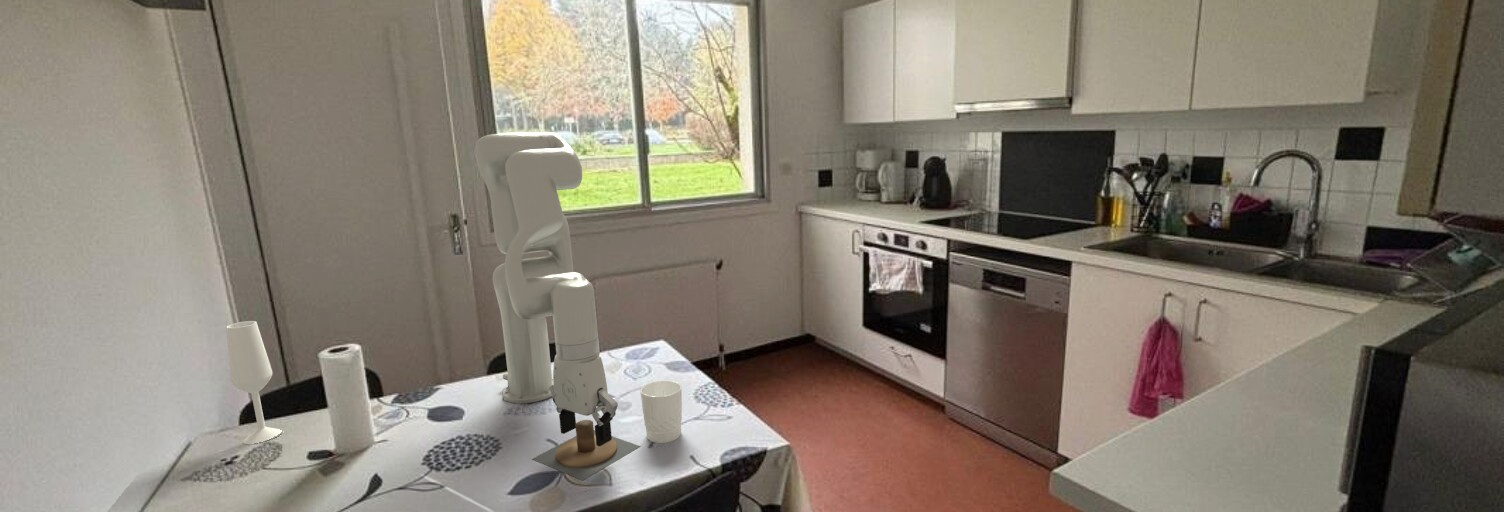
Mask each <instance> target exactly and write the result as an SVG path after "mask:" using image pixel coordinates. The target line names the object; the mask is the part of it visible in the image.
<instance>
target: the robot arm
mask: <svg viewBox="0 0 1504 512" xmlns="http://www.w3.org/2000/svg"><path fill="white" fill-rule="evenodd" d="M474 153H475V160H476V165H477V168H478V171H479V173H480V176H481V177H482V179H483V182H484V184H485V185H486V187H487V191H488V193H489V198H490V205H491V216H492V223H493V231H494V238H495V244H496V246H497V249H498V250H499V251H500V253H502V254H504V255H505V259H504V263H501V264H499V265H498V266H497V267H495V269H494V271H493V274H492V284H493V289H494V291H495V296H496V299H497V303H498V307H499V311H500V319H501V326H502V333H503V341H504V349H505V351H504V353H505V360H506V368H507V373H504V374H503V375H502V379H503V380H506V381H507V386H506V387H505V388H504V390H503V391H502V397H503V400H505V401H506V402H509V403H513V404H530V403H535V402H536V403H537V402H539V401H543V400H546V399H548V398H552V401H553V403H554V405H555V406H556V412H557V413H558V416H559V417H558V418H559V428H560V433H561V434H563V435H564V434H567V433H569V432H571V431H573V430H574V429H575V430H576V427H575V424H576V423H577V421H576V414H579V415H582V416H586V417H587V416H589V417H590V416H592V418H593V420H594V421H595V423H596V424H595V425H594V430H595V436H596V445H597V446H602V445H603V444H605V443H607V442H609V441H611V439H612V436H613V435H612V426H611V421H613V419H614V417H615V416H616V412H617V409H618V407H619V405H618V402H617V401H616V400H615V399H614V398H613V397H612V396H611V395H610V394H608V393H609V391H608V385H607V384H608V383H607V377H606V373H605V368H604V363H603V359H602V356H601V355H600V354H601V353H600V345H599V344H600V342H599V340H600V339H599V333H598V321H597V311H596V309H597V307H596V298H595V288H594V285H593V284H592V282H590V281H589V280H588V279H587V278H586V277H585V276H584V275H583V274H582V273H580V272H576V271H574V261H573V252H572V241H571V240H572V239H571V233H570V227H569V223H568V219H567V218H566V216H565V214H564V213H563V209H562V205H561V202H560V198H559V195H558V191H566V190H574V189H575V190H576V189H577V188H578V187H579V186H580V185H581V184H582V180H583V168H582V165H581V161H580V159H579V157H578V154H577V153H576V151H575V150H574V148H572V146H570V144H569V143H567V141H566V140H565V139H564V138H562V136H561V135H559V134H557V133H555V132H548V131H547V132H542V131H541V132H535V131H534V132H500V133H492V134H487V135H484V136H482V137H480V138H479V139H478V140H477V141H476V143H475V147H474ZM538 252H539V253H540V252H548V254H549V255H547V256H540V257H539V256H538V257H531V258H530V257H529V258H524V259H523V256H524V254H532V253H538ZM551 316H552V321H553V322H552V325H553V332H554V334H553V335H554V342H555V344H554V345H555V352H556V354H555V355H554V359H553V373H552V364H551V363H552V362H551V356H550V355H551V354H550V345H549V344H550V343H549V335H548V334H549V333H548V325H547V317H551ZM552 375H553V376H552ZM600 411H601V412H602V414H603V415H602V416H601V415H600V414H599V412H600Z"/></svg>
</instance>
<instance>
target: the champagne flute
mask: <svg viewBox="0 0 1504 512" xmlns="http://www.w3.org/2000/svg"><path fill="white" fill-rule="evenodd" d="M259 328H260V327H259V326H258V322H257V320H256V321H255V320H247V321H239V322H236V323H232V324H229V325H227V326H226V340H227V351H228V352H227V354H228V364H229V377H230V383H231V385H233V386H234V387H235V388H236V389H238V390H241V391H243V392H245V393H248V394H251V399H252V403H253V409H254V412H255V414H254V415H255V418H256V424H257V429H256V430H255V431H253V432H252V433H251V434H249V435H248V436H246V437H245V438H244V439H243V440H242V442H243V444H245V445H255V444H254V443H258V444H260V443H259V442H263V441H265V440H269V439H271V438H273V437H274V436H277V435H278V434H280V433H281V432H282V430H283V429H281V430H280V429H279V428H275V427H268V426H266V423H265V418H264V413H263V409H262V408H263V407H262V403H261V396H260V391H261V390H263V389H264V387H265V386H266V385H268V383H269V382H270V380H272V379H271V378H272V377H273V369H272V365H271V362H270V359H269V357H268V353H267V350H266V348H265V345H264V341H263V338H262V335H261V334H262V333H261V332H260V329H259ZM263 443H264V442H263Z"/></svg>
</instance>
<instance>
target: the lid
mask: <svg viewBox="0 0 1504 512" xmlns="http://www.w3.org/2000/svg"><path fill="white" fill-rule="evenodd" d="M575 427H576V428H575V436H576V437H577V438H573V437H572V438H573V439H571V438H570V439H571V440H570V439H568V440H569V441H568V440H566V441H567V442H566V441H564V442H565V443H564V442H562V443H563V444H562V443H561V444H562V445H561V446H560V447H559V448H558V449H557V451H556V459H557V461H558V463H560V464H561V465H563V466H566V467H572V468H583V467H590V466H594V465H598V464H600V463H603V462H605V461H607V460H608V459H610V458H611V457H613V455H614V454H615V453H616V451H617V444H616V441H615V440H614V439H613V438H612V439H611V441H609V442H607V443H605V444H603V445H602V446H597V445H596V436H595V435H594V430H595V426H594V421H593V420H590V419H582V420H580V421H578V422H577V421H576V424H575Z"/></svg>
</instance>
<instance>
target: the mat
mask: <svg viewBox="0 0 1504 512" xmlns="http://www.w3.org/2000/svg"><path fill="white" fill-rule="evenodd" d="M594 435H595V429H594ZM573 438H577V437H576V435H575V436H573V437H571V438H570V439H568V440H566V441H564V442H562V443H560V444H557V445H556V446H554V447H552V448H550V449H549V450H546V451H544V452H543V453H540V454H538V455H536V456H534V457H533V458H531V460H533V461H535V462H538V463H539V464H542V465H544V466H547V467H549V468H552V469H554V470H557V471H559V472H561V473H564V474H566V475H568V476H571V477H573V478H576V479H578V480H580V481H585V480H587V479H588V478H591V477H592V476H593V475H595V474H597V473H598V472H601V470H603V469H605V468H607V467H608V466H610V465H611V464H614V463H615V462H617V461H618V460H620V459H622V458H623V457H624V458H625V456H627V455H629V454H630V453H632V452H634V451H636V450H637V449H639V448H641V445H639V444H635V443H632V442H629V441H627V440H624V439H621V438H618V437H616V436H613V435H612V438H613V439H614V440H615V441H616V444H617V451H616V453H615V454H614V455H613V457H611V458H610V459H608V460H607V461H605V462H603V463H600V464H598V465H594V466H590V467H583V468H572V467H566V466H563V465H561V464H560V463H558V461H557V459H556V451H557V449H558V448H559V447H560V446H561V445H562V444H563V443H565V442H567V441H569V440H571V439H573Z"/></svg>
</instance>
